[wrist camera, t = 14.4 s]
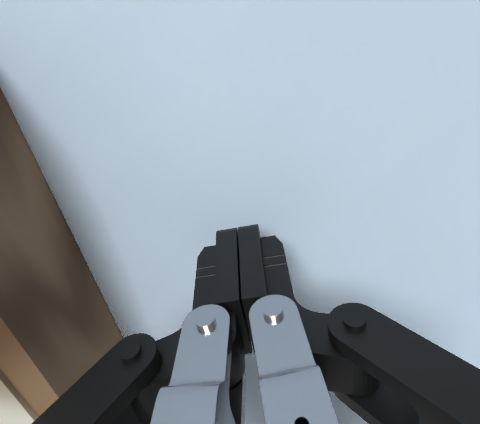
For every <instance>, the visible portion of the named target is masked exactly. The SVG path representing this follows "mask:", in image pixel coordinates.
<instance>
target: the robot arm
mask: <svg viewBox="0 0 480 424" xmlns="http://www.w3.org/2000/svg"><path fill="white" fill-rule="evenodd" d="M251 341H252V342H251ZM252 345H253V349H254V352H255V355H256V361H257V367H258V373H259V385H260V392H261V398H262V404H263V410H264V416H265V422H266V424H339V423H338V420H337V417H336V414H335V411H334V408H333V405H332V402H331V399H330V396H329V393H328V391H333V392H334V393H335V394H336V396H337V397H338V398H339V399H340V400H341V401H342V402H343V403H344V404H346V405H347V406H348V407H349V408H350V409H352V410H353V411H354V412H355V413H357V414H358V415H359V416H360V417H362V418H363V419H364V420H365V421H366V422H368V423H369V424H480V369H478V368H477V367H475V366H473V365H471V364H469V363H468V362H466V361H464V360H462V359H461V358H459V357H457V356H455V355H454V354H452V353H450V352H448V351H446V350H445V349H443V348H441V347H439V346H438V345H436V344H434V343H432V342H430V341H429V340H427V339H425V338H423V337H422V336H420V335H418V334H416V333H415V332H413V331H411V330H409V329H407V328H406V327H404V326H402V325H400V324H399V323H397V322H395V321H393V320H392V319H390V318H388V317H386V316H384V315H383V314H381V313H379V312H377V311H376V310H374V309H372V308H370V307H368V306H366V305H363V304H359V303H346V304H342V305H339V306H337V307H336V308H334V309H333V310H332V311H331V312H330V314H324V313H317V312H312V311H309V310H307V309H305V308H303V307H302V306H301V305H299V304H298V303H297V301H296V300H295V298H294V295H293V290H292V286H291V281H290V276H289V272H288V267H287V263H286V258H285V253H284V248H283V244H282V243H281V242H280V241H279V240H278V239H277V238H276V236H269V237H263V238H260V232H259V227H258V224H256V225H250V226H244V227H238V230H237V228H232V229H226V230H220V231H217V232H216V245H214V246H208V247H204V248H203V250H202V252H201V253H200V255H199V256H198V260H197V270H196V280H195V290H194V300H193V310H192V311H191V312H190V313H189V314H188V315H187V317H186V318H185V320H184V322H183V325H182V328H181V329H180V330H178V331H177V332H175V333H173V334H171V335H169V336H167V337H164V338H162V339H160V340H157V341H155V340H154V339H153V338H152V337H151V336H150V335H147V334H141V333H139V334H133V335H130V336H127V337H126V338H124V339H122V340H121V341H119V342H118V343H117V344H116V345H115V346H114V347H113V348H111V349H110V350H109V351H108V352H107V353H106V354H105V355H104V356H103V357H102V358H101V359H100V360H99V361H98V362H97V363H95V364H94V365H93V366H92V367H91V368H90V369H89V370H88V371H87V372H86V373H85V374H84V375H83V376H82V377H81V378H79V379H78V380H77V381H76V382H75V383H74V384H73V385H72V386H71V387H70V388H69V389H68V390H67V391H66V392H65V393H64V394H62V395H61V396H60V397H59V398H58V399H57V400H56V401H55V402H54V403H53V404H52V405H51V406H50V407H49V408H48V409H46V410H45V411H44V412H43V413H42V414H41V415H40V416H39V417H38V418H37V419H36V420H35V421H34V422H33V423H32V424H245V392H246V375H245V356H244V354H248V353H252Z"/></svg>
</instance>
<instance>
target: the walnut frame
mask: <svg viewBox="0 0 480 424" xmlns="http://www.w3.org/2000/svg"><path fill="white" fill-rule="evenodd" d="M122 339H123V337H122V335H121V333H120V330H119V328H118V326H117V324H116V322H115V320H114V318H113V316H112V314H111V312H110V310H109V308H108V306H107V304H106V302H105V300H104V298H103V296H102V294H101V292H100V290H99V288H98V286H97V284H96V282H95V280H94V277H93V275H92V273H91V271H90V269H89V267H88V265H87V263H86V261H85V259H84V257H83V255H82V253H81V251H80V249H79V247H78V245H77V243H76V241H75V239H74V237H73V235H72V233H71V231H70V229H69V227H68V224H67V222H66V220H65V218H64V216H63V214H62V212H61V210H60V208H59V206H58V204H57V202H56V200H55V198H54V196H53V194H52V192H51V190H50V188H49V186H48V184H47V182H46V180H45V178H44V176H43V174H42V172H41V169H40V167H39V165H38V163H37V161H36V159H35V157H34V155H33V153H32V151H31V149H30V147H29V145H28V143H27V141H26V139H25V137H24V135H23V133H22V131H21V129H20V127H19V125H18V123H17V121H16V119H15V116H14V114H13V112H12V110H11V108H10V106H9V104H8V102H7V100H6V98H5V96H4V94H3V92H2V90H1V88H0V424H32V423H33V422H34V421H35V420H36V419H37V418H38V417H39V416H40V415H41V414H42V413H43V412H44V411H45V410H46V409H48V408H49V407H50V406H51V405H52V404H53V403H54V402H55V401H56V400H57V399H58V398H59V397H60V396H61V395H62V394H64V393H65V392H66V391H67V390H68V389H69V388H70V387H71V386H72V385H73V384H74V383H75V382H76V381H77V380H78V379H79V378H81V377H82V376H83V375H84V374H85V373H86V372H87V371H88V370H89V369H90V368H91V367H92V366H93V365H94V364H95V363H97V362H98V361H99V360H100V359H101V358H102V357H103V356H104V355H105V354H106V353H107V352H108V351H109V350H110V349H111V348H113V347H114V346H115V345H116V344H117V343H118V342H119V341H121V340H122Z"/></svg>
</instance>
